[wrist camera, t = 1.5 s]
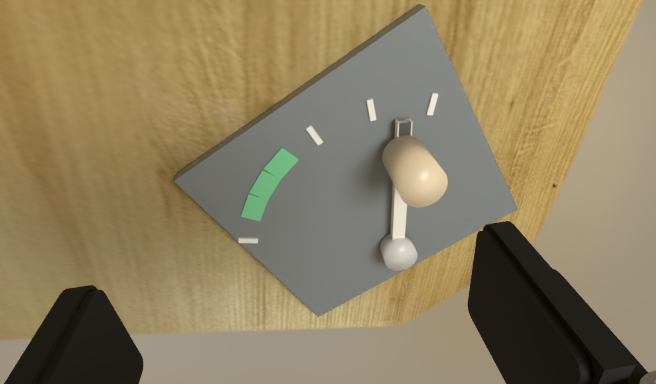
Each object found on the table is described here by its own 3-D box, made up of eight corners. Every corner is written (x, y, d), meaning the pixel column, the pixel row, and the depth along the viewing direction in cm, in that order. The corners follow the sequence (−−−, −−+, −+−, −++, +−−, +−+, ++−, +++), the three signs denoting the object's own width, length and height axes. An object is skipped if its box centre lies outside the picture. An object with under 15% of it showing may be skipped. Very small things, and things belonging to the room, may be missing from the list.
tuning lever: (412, 254, 40) (432, 300, 35) (377, 259, 39) (393, 305, 34) (423, 116, 32) (452, 148, 27) (380, 120, 31) (401, 153, 26)
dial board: (419, 4, 29) (426, 6, 27) (510, 200, 40) (518, 210, 38) (177, 172, 34) (173, 182, 32) (317, 306, 45) (318, 318, 43)
